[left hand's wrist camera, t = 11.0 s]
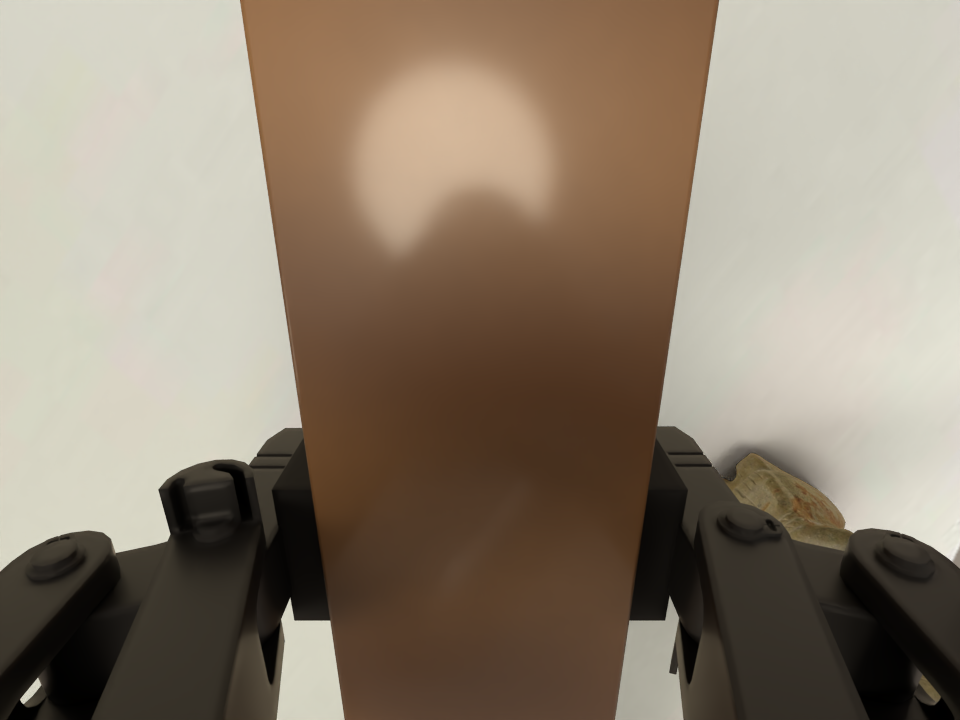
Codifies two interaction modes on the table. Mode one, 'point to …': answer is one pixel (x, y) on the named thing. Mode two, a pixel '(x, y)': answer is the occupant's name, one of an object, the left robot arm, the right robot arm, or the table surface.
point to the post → (479, 326)
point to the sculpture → (795, 510)
